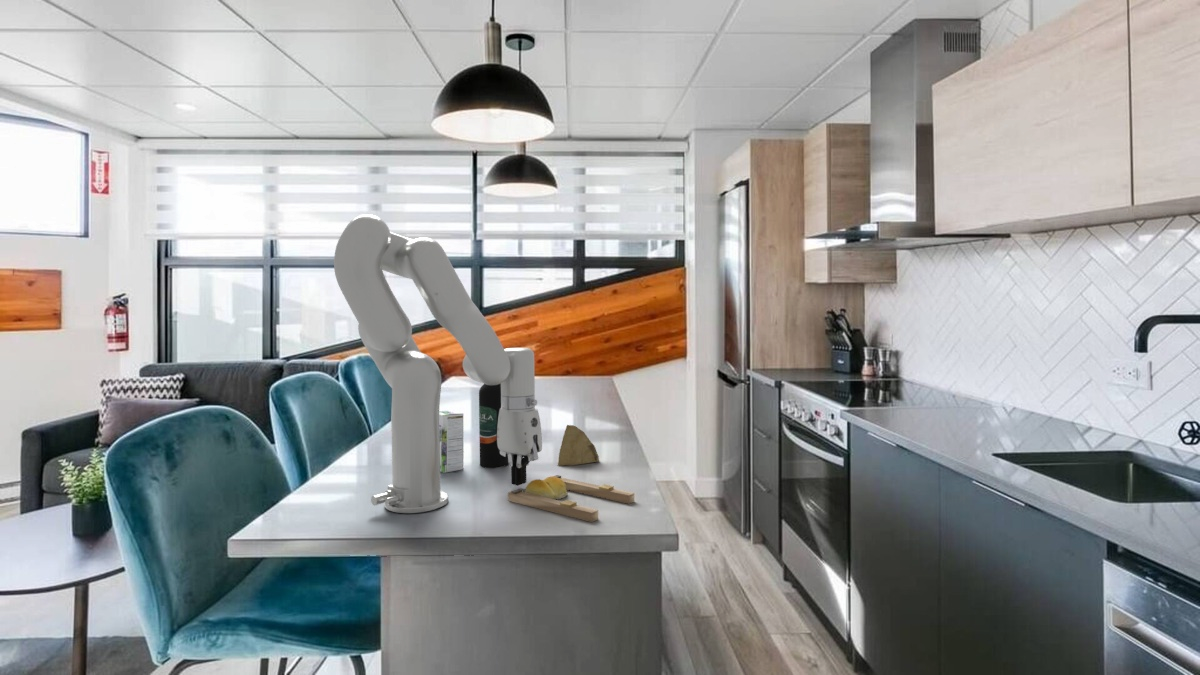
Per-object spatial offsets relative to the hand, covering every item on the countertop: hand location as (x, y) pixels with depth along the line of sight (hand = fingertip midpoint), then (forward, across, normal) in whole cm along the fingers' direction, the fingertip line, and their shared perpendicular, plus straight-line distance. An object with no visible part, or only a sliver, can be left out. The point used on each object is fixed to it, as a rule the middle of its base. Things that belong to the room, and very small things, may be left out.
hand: (518, 483), depth 136 cm
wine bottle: (+1, +20, -12) cm, 23 cm away
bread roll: (+2, -8, 0) cm, 8 cm away
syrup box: (+1, +26, -2) cm, 26 cm away
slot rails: (+1, -15, 0) cm, 15 cm away
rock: (+2, +2, -26) cm, 26 cm away
